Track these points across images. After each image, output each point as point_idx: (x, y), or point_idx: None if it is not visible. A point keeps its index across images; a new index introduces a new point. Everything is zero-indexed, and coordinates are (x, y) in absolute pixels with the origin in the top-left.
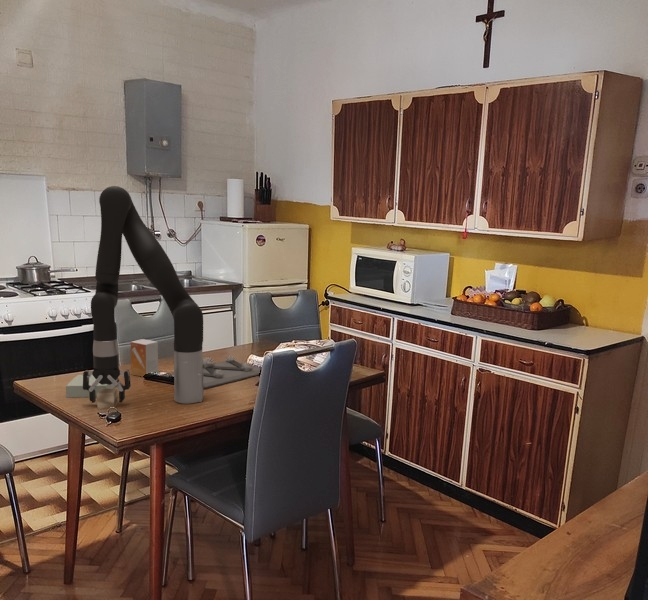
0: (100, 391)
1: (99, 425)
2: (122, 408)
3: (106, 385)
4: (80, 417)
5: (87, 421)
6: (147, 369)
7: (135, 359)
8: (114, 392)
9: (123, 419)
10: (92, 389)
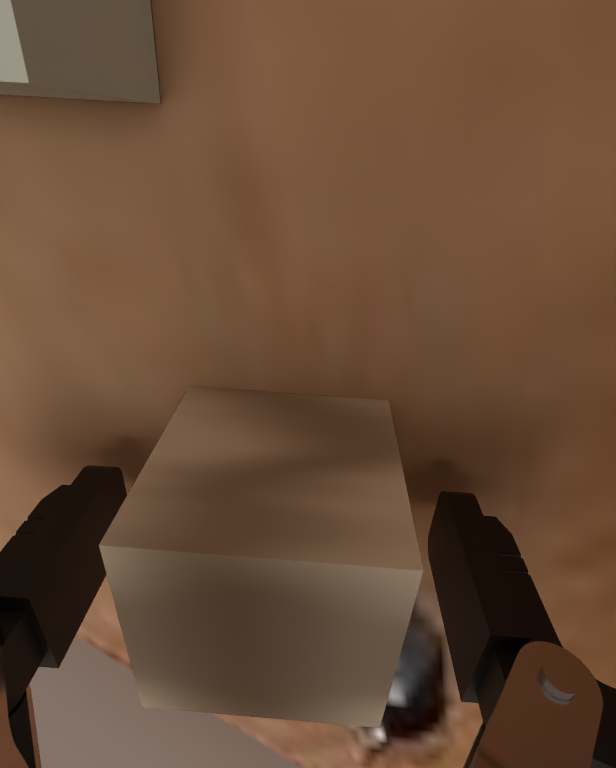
0: (156, 659)
1: (318, 754)
2: None
3: (23, 45)
4: None
5: None
6: None
7: None
8: (387, 682)
9: (462, 716)
10: (20, 724)
